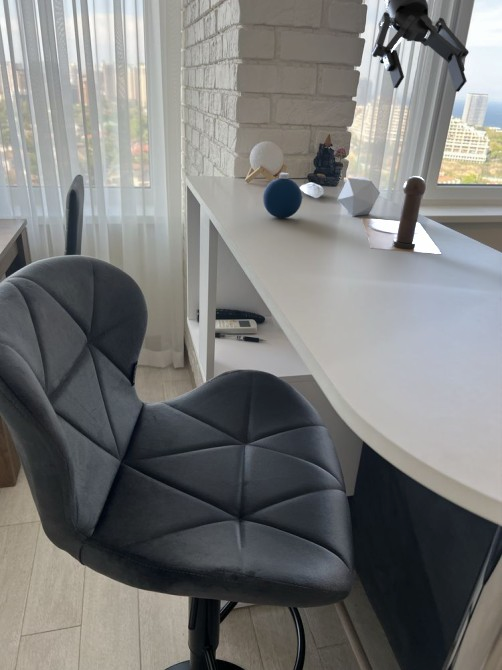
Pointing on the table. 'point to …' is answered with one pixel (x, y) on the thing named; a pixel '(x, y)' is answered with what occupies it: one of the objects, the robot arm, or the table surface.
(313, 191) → the pincushion
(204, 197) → the table surface
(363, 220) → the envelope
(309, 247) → the table surface
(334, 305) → the table surface
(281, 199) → the christmas ornament
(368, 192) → the die
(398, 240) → the dot stamp
